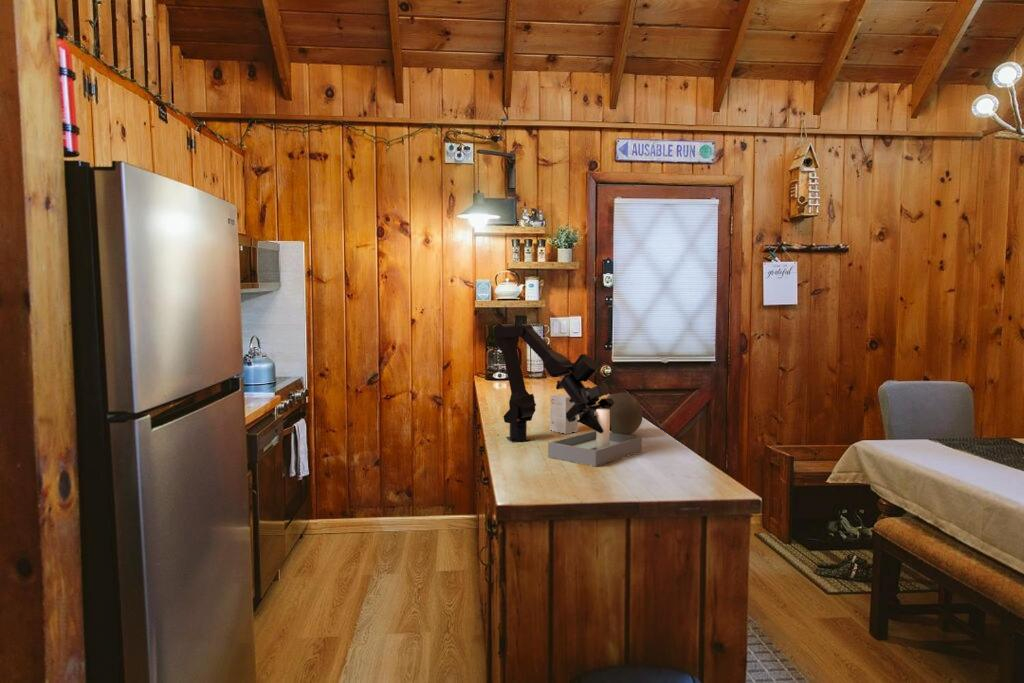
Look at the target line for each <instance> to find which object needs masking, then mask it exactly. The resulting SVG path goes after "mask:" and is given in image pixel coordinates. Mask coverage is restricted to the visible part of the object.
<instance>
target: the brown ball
mask: <svg viewBox="0 0 1024 683" xmlns="http://www.w3.org/2000/svg"><path fill="white" fill-rule="evenodd" d="M605 398H611V399H612V400H613V401H614V404H613V405H612V406H611V407H610V408H609V409H610V425H611V428H612V430H611V431H610V432H611V433H618V434H624V435H630V436H631V435H632V434H634V433H635V432H637V430H638V429H639V428H640V426H641V425H642V422H643V418H644V417H643V409H642V405H641V403H640V402H639V400H638V399H637V398H636V397H635V396H634V395H632V394H630V393H628V392H616V393H612V394H611V393H610V394H608V396H606V397H605Z"/></svg>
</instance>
